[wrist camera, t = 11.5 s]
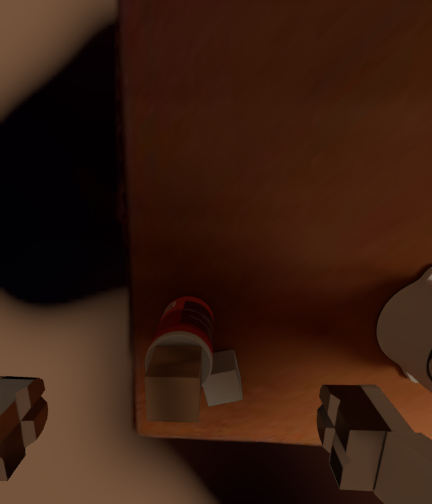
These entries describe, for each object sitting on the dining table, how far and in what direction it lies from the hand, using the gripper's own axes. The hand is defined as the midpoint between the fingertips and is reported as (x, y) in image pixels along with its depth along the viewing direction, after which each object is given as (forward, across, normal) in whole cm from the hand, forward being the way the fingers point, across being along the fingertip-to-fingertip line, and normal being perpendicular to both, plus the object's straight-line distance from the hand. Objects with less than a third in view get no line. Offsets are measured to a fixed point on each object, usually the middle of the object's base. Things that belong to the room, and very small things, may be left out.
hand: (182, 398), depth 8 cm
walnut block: (+20, +3, +14) cm, 25 cm away
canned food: (+31, +3, +14) cm, 34 cm away
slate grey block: (+31, -2, +22) cm, 38 cm away
